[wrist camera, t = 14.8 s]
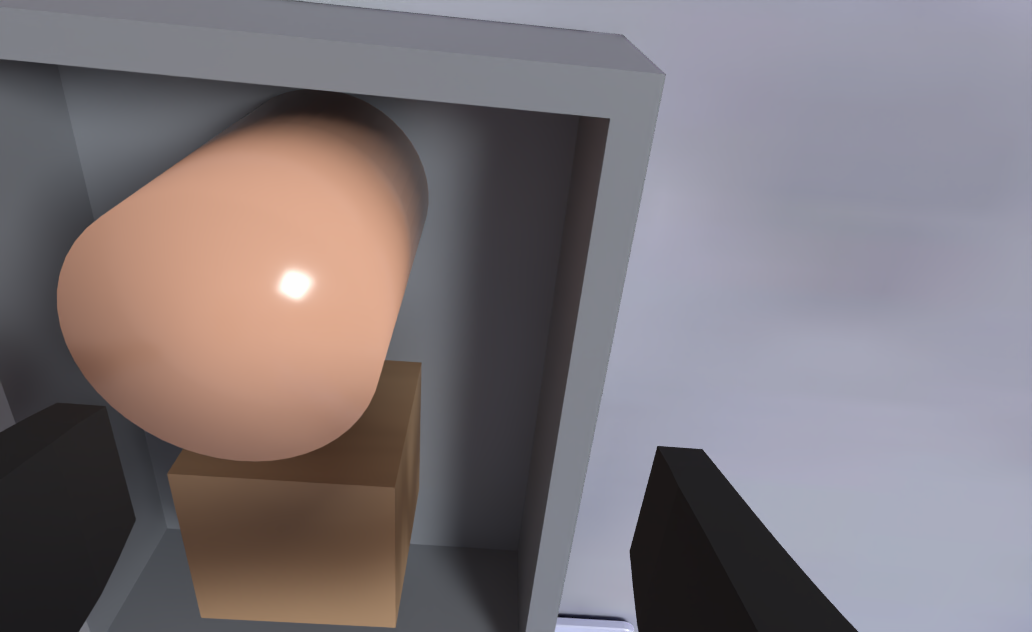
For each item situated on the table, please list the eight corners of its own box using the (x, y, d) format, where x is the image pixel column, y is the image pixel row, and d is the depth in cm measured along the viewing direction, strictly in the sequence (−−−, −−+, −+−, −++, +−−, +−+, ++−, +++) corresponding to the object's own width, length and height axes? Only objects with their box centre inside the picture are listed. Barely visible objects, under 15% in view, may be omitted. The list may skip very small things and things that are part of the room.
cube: (419, 489, 22) (395, 627, 17) (264, 479, 21) (201, 617, 17) (421, 362, 19) (394, 487, 15) (246, 350, 19) (166, 473, 15)
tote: (537, 553, 24) (543, 689, 20) (155, 529, 23) (74, 664, 19) (622, 34, 15) (665, 74, 11) (16, -29, 15) (-194, -13, 10)
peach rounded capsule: (434, 280, 18) (395, 460, 12) (249, 281, 18) (114, 462, 12) (420, 88, 15) (361, 192, 9) (204, 89, 15) (3, 193, 9)
